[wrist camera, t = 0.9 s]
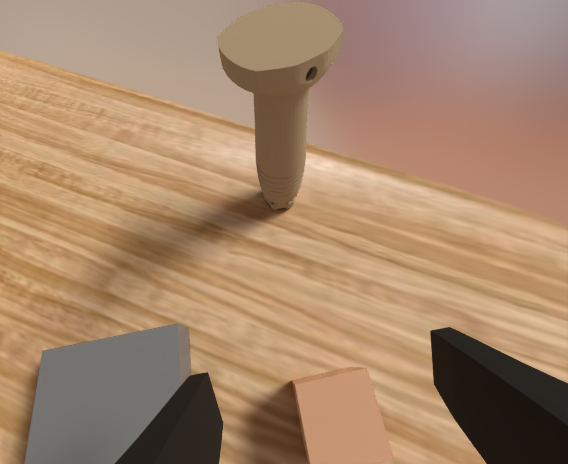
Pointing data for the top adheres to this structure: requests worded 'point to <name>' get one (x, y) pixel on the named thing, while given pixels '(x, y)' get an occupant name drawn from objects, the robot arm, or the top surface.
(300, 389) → the terracotta block
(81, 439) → the plate
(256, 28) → the handle
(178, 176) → the top surface
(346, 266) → the top surface
